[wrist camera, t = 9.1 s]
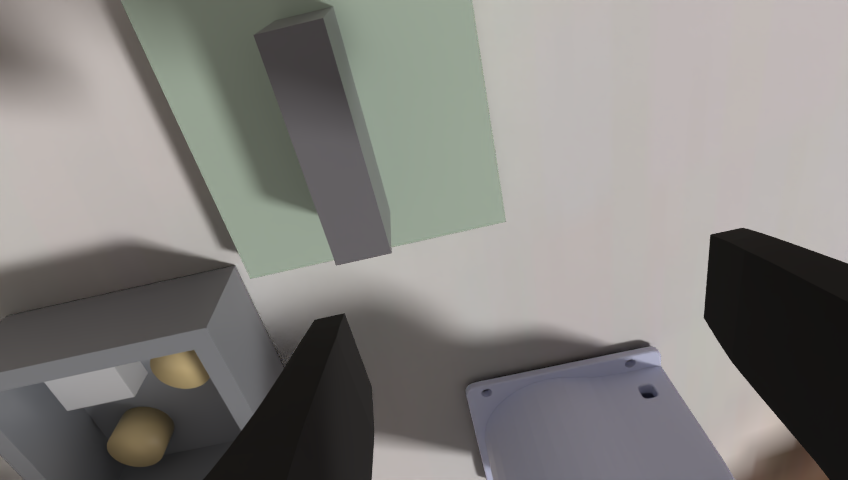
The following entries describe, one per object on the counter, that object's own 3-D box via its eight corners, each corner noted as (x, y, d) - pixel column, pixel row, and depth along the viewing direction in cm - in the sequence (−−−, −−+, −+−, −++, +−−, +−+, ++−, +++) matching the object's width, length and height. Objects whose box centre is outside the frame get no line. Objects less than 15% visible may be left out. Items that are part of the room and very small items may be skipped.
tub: (235, 265, 21) (206, 327, 18) (311, 426, 26) (301, 500, 23) (5, 316, 22) (-66, 386, 18) (124, 465, 27) (85, 543, 23)
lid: (451, -82, 16) (475, -94, 12) (496, 201, 21) (525, 263, 17) (145, -6, 16) (64, 9, 12) (260, 254, 21) (230, 328, 17)
